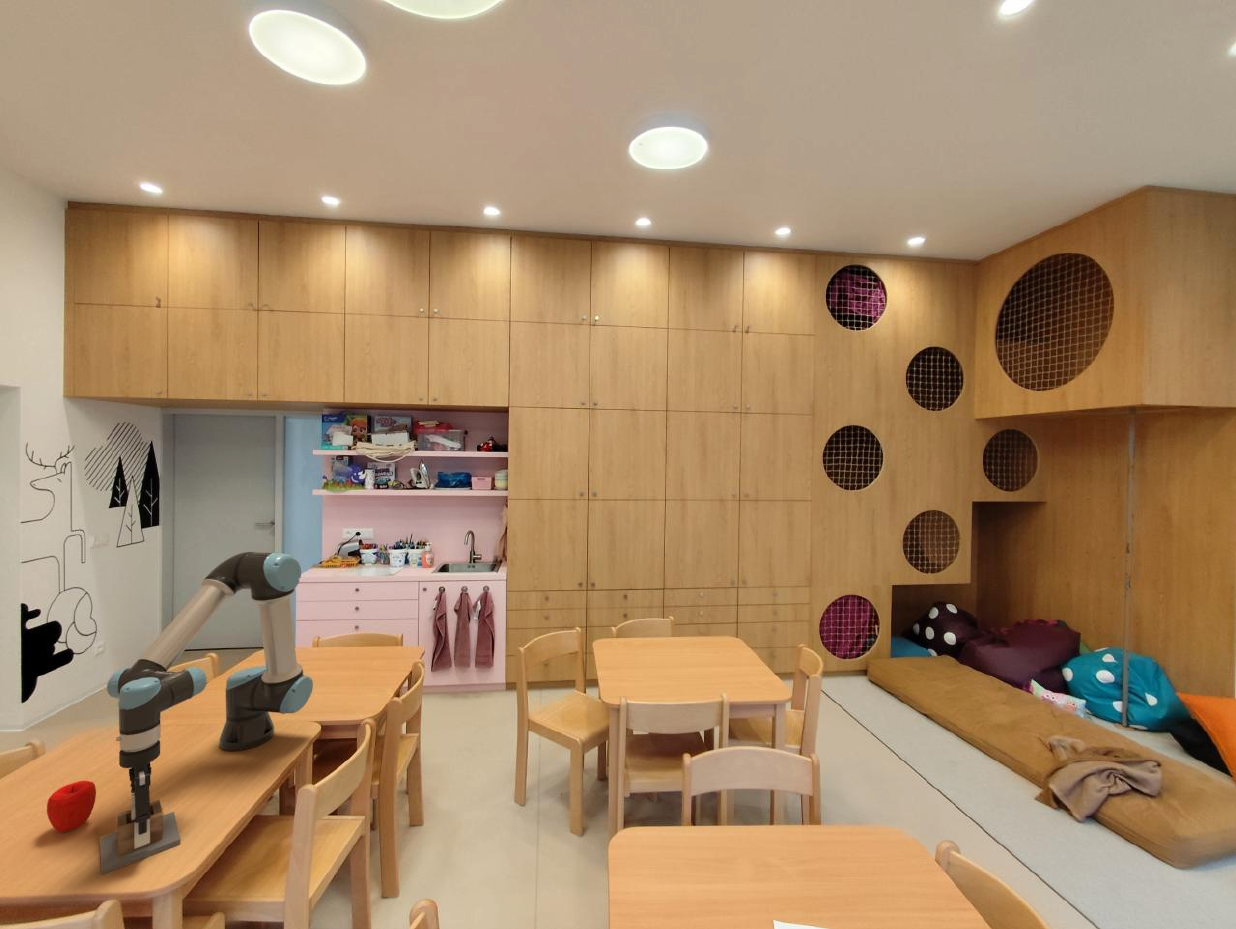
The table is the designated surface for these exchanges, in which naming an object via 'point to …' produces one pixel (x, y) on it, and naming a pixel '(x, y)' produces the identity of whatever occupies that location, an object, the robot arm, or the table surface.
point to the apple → (71, 805)
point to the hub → (127, 829)
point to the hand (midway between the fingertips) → (140, 831)
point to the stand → (114, 861)
